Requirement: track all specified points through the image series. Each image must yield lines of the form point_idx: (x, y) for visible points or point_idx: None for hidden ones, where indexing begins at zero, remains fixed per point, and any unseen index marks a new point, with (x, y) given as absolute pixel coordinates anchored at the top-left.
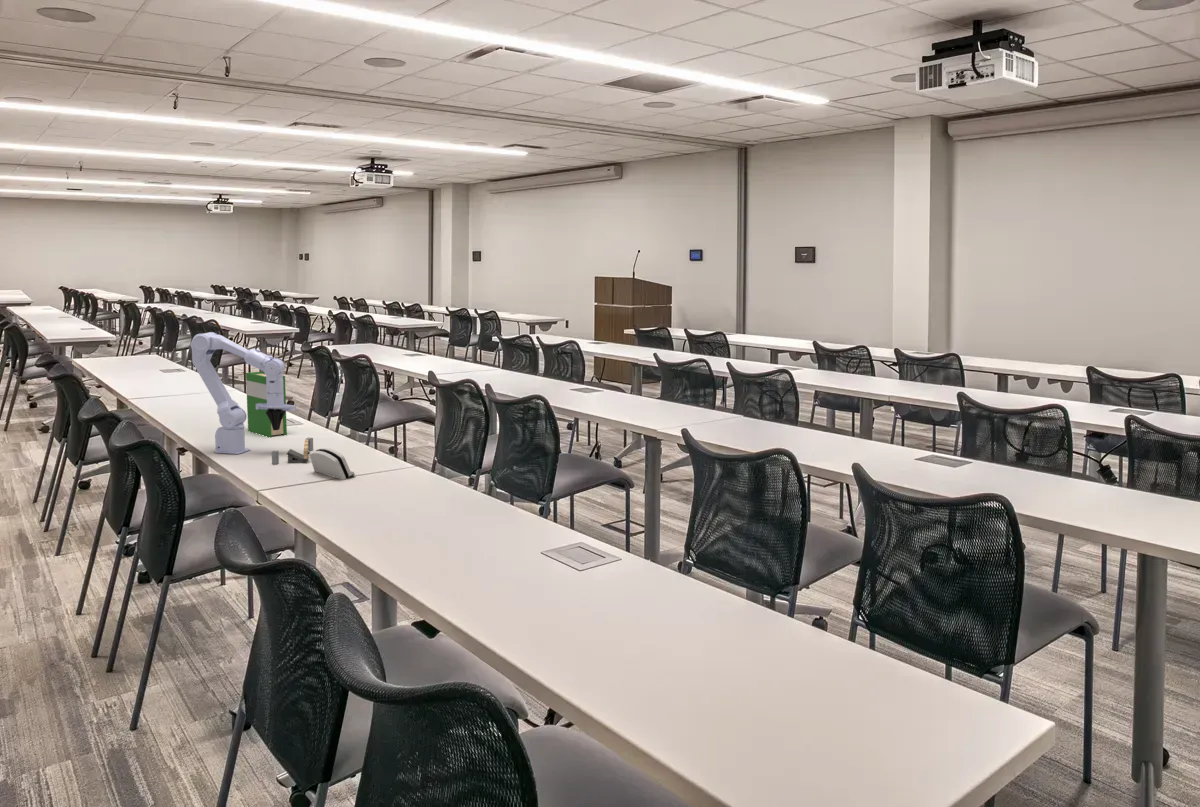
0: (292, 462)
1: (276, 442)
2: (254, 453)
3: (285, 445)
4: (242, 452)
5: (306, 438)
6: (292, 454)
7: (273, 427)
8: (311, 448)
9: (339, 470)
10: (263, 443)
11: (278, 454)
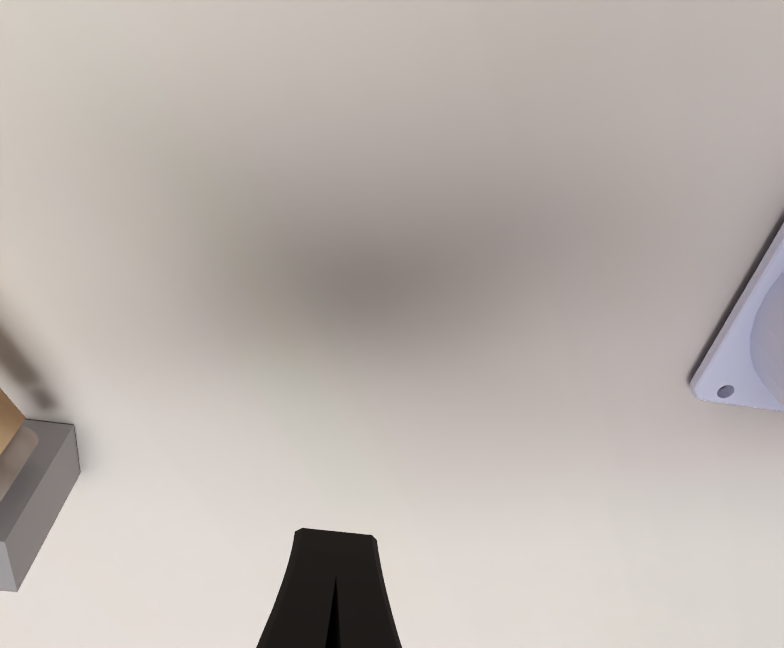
0: None
1: (508, 641)
2: (611, 243)
3: (395, 575)
4: (770, 246)
5: (5, 551)
6: None
7: (357, 580)
8: None
9: None
10: (607, 609)
11: None
